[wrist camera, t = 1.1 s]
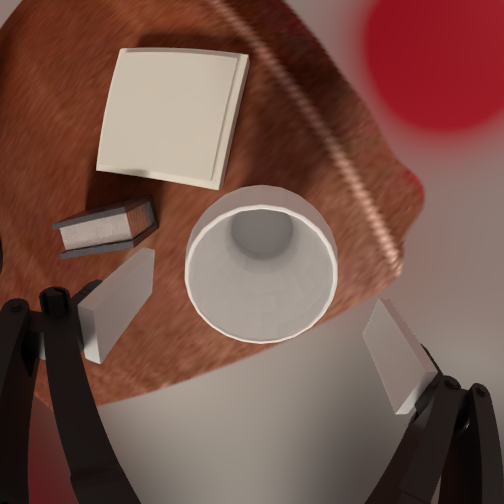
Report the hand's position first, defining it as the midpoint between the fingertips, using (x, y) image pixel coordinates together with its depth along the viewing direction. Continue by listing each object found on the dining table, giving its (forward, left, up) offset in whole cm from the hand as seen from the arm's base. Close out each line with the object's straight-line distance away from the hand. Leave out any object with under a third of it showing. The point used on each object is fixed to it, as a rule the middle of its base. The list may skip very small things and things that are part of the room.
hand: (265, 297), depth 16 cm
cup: (0, 0, -17) cm, 17 cm away
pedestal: (-12, +10, -17) cm, 23 cm away
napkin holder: (-17, -3, -17) cm, 24 cm away
